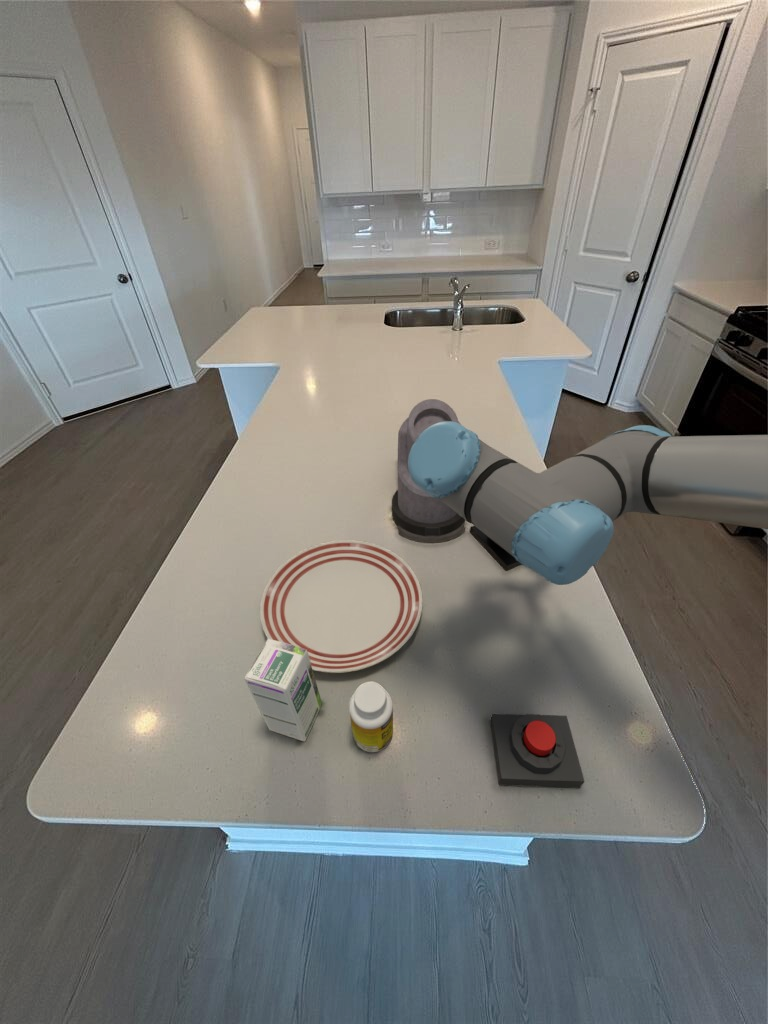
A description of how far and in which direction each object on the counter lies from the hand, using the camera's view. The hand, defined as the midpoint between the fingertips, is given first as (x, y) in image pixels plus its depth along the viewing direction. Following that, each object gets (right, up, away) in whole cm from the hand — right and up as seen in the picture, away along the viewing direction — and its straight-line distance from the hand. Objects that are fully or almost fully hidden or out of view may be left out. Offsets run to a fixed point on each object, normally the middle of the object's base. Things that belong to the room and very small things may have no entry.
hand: (557, 539), depth 72 cm
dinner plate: (-35, -12, +5) cm, 38 cm away
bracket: (-5, -2, +16) cm, 16 cm away
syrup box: (-41, -25, -9) cm, 49 cm away
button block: (-9, -27, -14) cm, 32 cm away
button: (-9, -24, -16) cm, 31 cm away
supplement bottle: (-30, -26, -11) cm, 41 cm away
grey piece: (-19, +8, +28) cm, 34 cm away
